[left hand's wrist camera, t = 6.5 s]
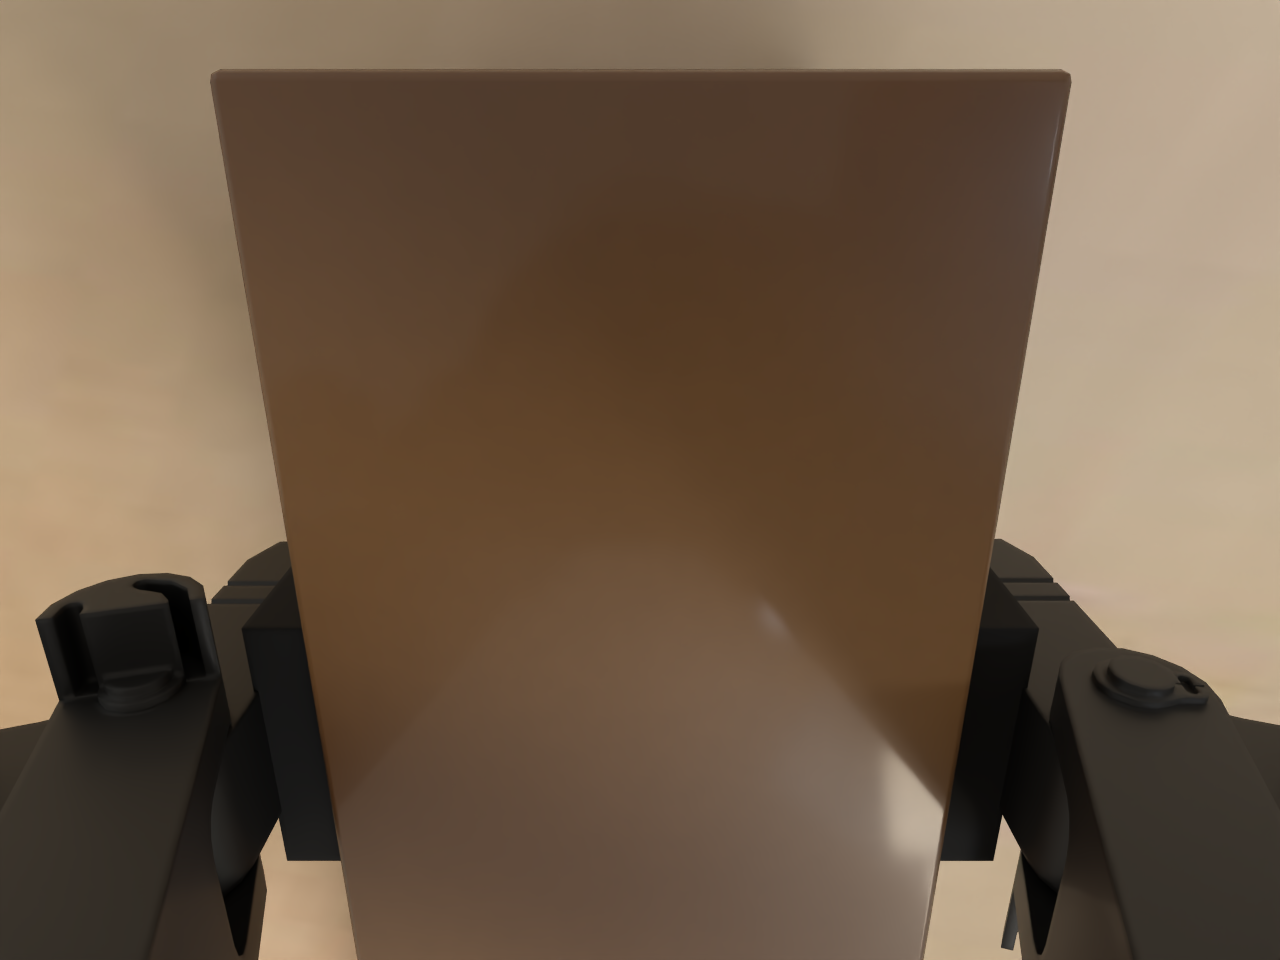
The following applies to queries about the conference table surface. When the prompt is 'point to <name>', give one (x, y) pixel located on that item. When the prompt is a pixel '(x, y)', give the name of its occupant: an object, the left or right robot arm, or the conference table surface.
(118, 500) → the conference table surface
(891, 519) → the beam
